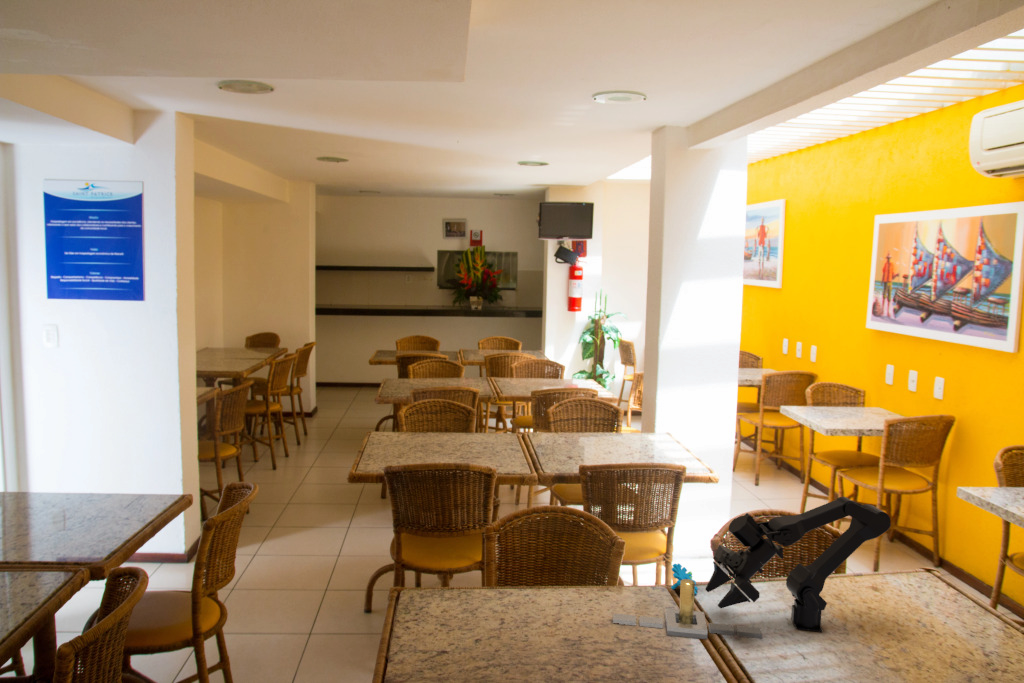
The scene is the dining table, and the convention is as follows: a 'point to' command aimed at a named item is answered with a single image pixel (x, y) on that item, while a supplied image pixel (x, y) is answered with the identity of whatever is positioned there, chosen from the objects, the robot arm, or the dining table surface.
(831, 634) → the dining table surface
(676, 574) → the gear
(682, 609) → the pin
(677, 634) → the square frame with tiles
